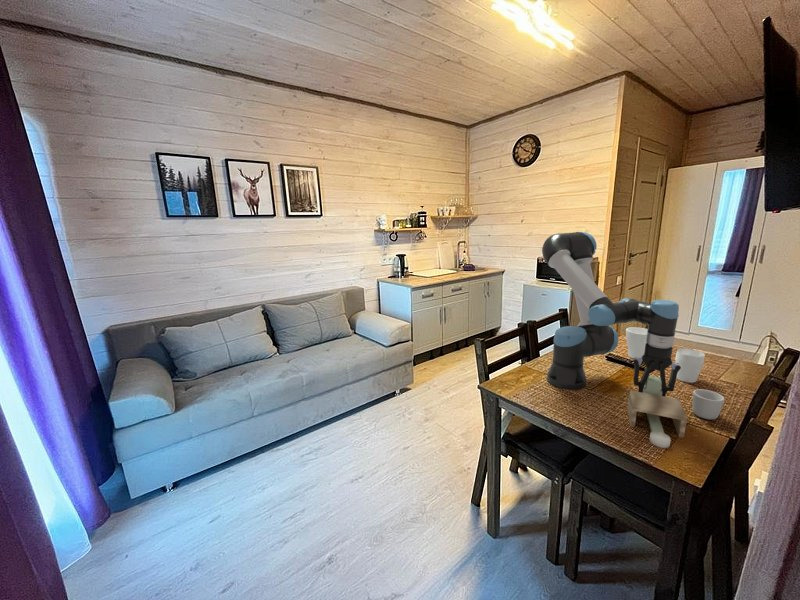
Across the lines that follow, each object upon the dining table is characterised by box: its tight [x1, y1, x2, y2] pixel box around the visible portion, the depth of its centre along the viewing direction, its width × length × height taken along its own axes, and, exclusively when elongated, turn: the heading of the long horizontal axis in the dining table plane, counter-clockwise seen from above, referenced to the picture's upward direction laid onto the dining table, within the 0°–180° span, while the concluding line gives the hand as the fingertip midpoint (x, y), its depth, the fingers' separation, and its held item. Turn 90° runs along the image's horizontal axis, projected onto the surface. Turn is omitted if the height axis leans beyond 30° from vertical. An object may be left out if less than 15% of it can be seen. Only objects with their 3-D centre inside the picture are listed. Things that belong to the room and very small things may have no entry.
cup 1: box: [625, 326, 648, 359], centre depth 162 cm, size 10×10×14 cm
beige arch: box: [626, 389, 688, 438], centre depth 114 cm, size 14×12×7 cm
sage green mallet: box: [645, 375, 665, 434], centre depth 114 cm, size 4×21×11 cm, turn 151°
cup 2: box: [675, 348, 706, 384], centre depth 140 cm, size 9×9×12 cm
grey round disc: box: [649, 431, 671, 449], centre depth 104 cm, size 5×5×2 cm
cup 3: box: [692, 388, 725, 421], centre depth 117 cm, size 11×8×8 cm
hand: (649, 404), depth 122 cm, fingers closed on sage green mallet, 4 cm apart
